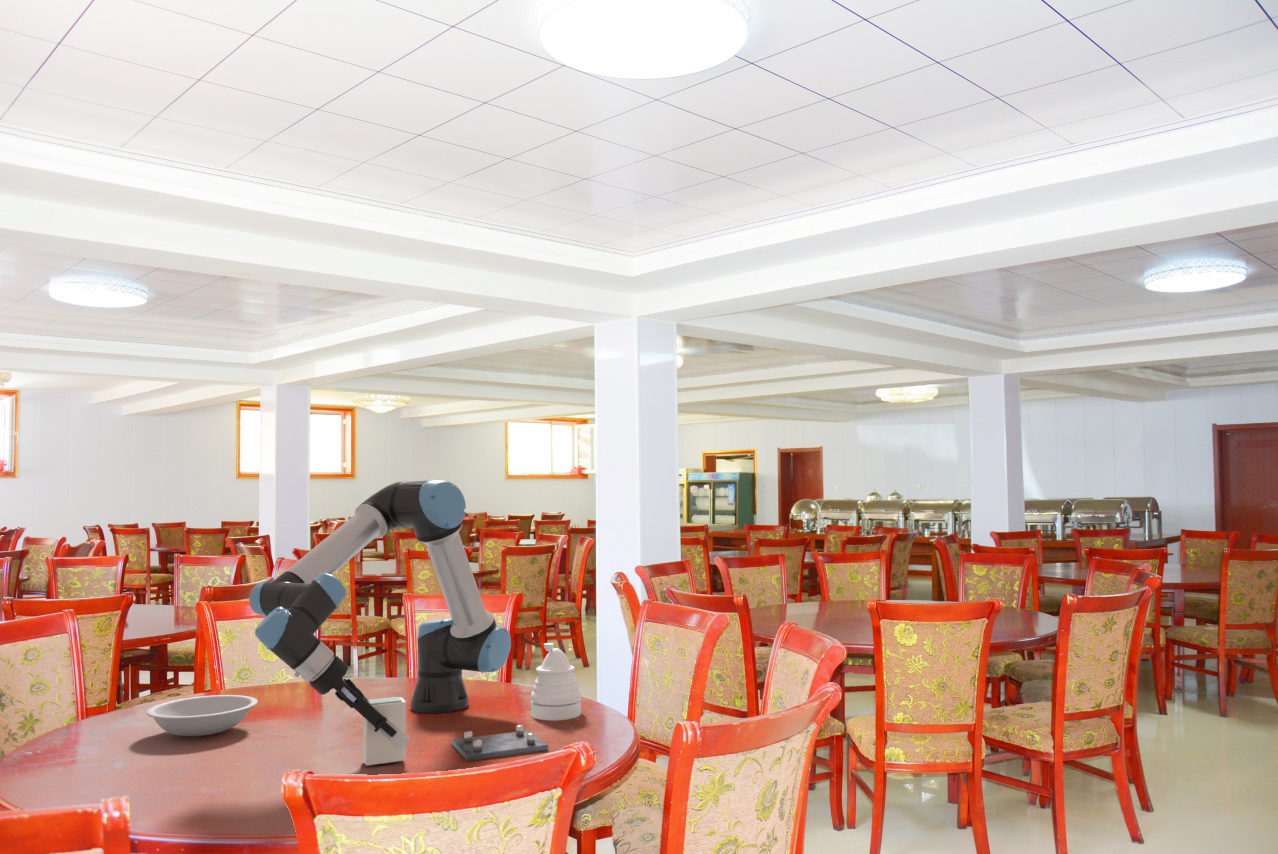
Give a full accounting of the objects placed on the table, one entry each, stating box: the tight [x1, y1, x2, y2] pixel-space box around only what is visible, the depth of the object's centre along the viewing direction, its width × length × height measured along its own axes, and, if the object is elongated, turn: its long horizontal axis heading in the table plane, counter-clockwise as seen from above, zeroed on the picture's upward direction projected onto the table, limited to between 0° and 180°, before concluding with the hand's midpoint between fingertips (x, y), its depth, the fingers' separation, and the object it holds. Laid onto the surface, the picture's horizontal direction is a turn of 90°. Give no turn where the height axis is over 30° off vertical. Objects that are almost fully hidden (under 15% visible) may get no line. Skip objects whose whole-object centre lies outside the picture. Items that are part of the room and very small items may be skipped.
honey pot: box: [530, 642, 582, 721], centre depth 229 cm, size 13×13×18 cm
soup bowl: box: [145, 694, 258, 737], centre depth 213 cm, size 24×24×7 cm
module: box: [362, 696, 407, 767], centre depth 187 cm, size 5×8×12 cm, turn 115°
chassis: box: [451, 724, 549, 762], centre depth 197 cm, size 14×18×3 cm
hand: (402, 740), depth 189 cm, fingers closed on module, 5 cm apart
